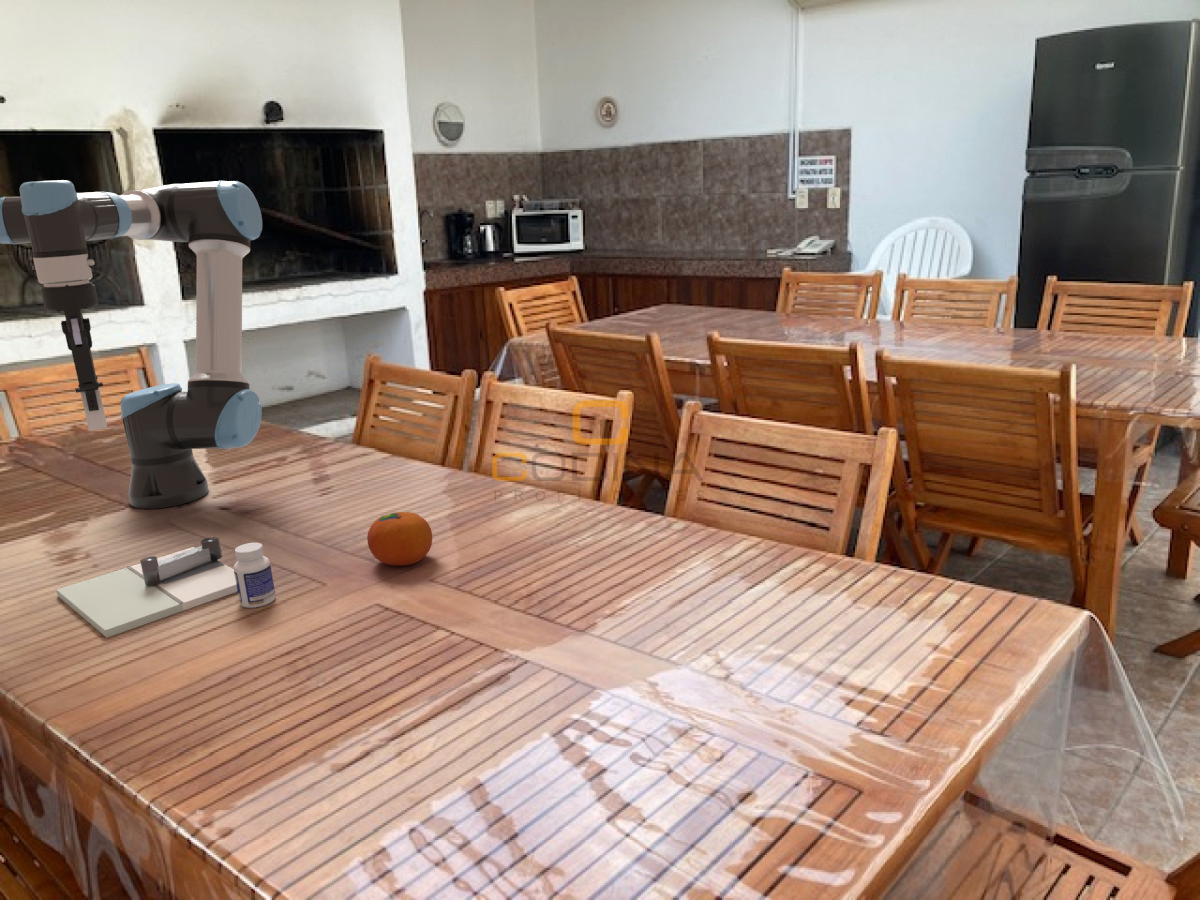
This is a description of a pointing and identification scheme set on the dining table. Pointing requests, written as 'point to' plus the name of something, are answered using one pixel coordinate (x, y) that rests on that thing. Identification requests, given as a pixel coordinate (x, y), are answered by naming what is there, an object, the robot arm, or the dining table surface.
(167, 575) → the swing bar
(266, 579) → the pill bottle
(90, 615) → the door board
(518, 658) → the dining table surface
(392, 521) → the fruit
